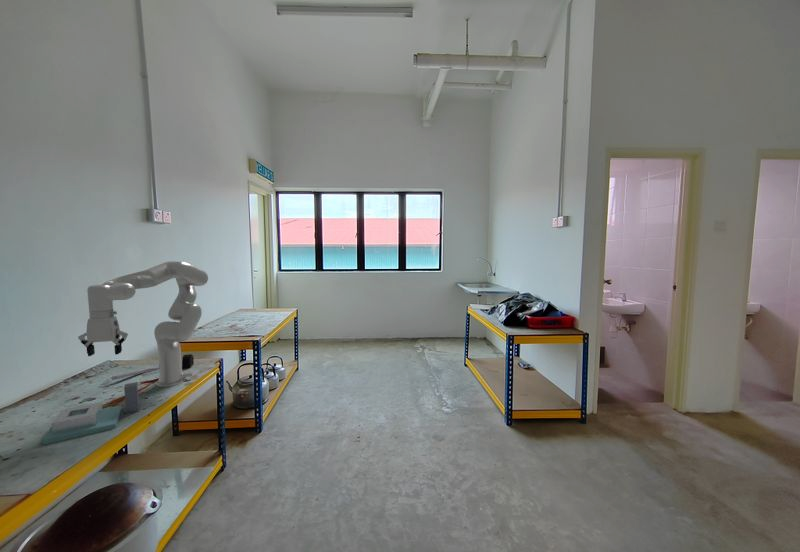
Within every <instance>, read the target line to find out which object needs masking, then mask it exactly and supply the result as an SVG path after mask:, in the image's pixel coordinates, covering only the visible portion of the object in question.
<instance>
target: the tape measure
mask: <svg viewBox="0 0 800 552" xmlns="http://www.w3.org/2000/svg"><path fill="white" fill-rule="evenodd" d="M194 363H195V360H194V355H193V354H192V353H190V354H188V353H187V354H183V355H182V357H181V364H182V370H187V369H191V368H192V367H193V366H194Z"/></svg>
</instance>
